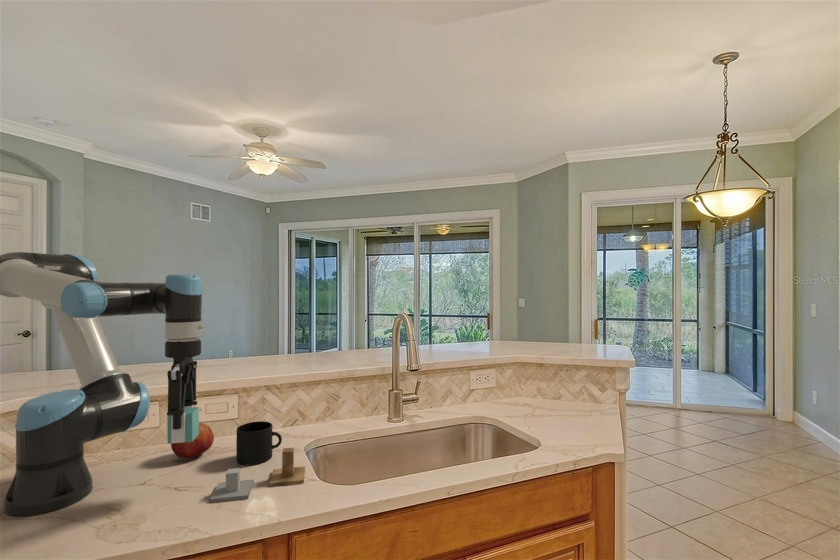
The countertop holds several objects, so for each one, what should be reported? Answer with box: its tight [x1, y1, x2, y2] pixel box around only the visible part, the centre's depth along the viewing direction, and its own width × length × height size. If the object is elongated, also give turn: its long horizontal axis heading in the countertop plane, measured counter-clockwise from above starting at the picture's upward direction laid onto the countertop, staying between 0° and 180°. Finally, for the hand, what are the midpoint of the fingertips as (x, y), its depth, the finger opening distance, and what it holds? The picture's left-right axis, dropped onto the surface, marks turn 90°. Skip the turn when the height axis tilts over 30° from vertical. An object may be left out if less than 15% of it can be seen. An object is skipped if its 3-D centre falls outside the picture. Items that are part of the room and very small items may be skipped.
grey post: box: [209, 467, 255, 504], centre depth 99 cm, size 8×8×5 cm
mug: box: [235, 420, 283, 466], centre depth 119 cm, size 9×12×9 cm
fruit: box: [170, 422, 215, 459], centre depth 120 cm, size 11×10×10 cm
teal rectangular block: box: [166, 406, 200, 445], centre depth 99 cm, size 5×5×7 cm
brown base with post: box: [268, 447, 306, 488], centre depth 107 cm, size 8×8×7 cm
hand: (182, 437), depth 99 cm, fingers closed on teal rectangular block, 5 cm apart
